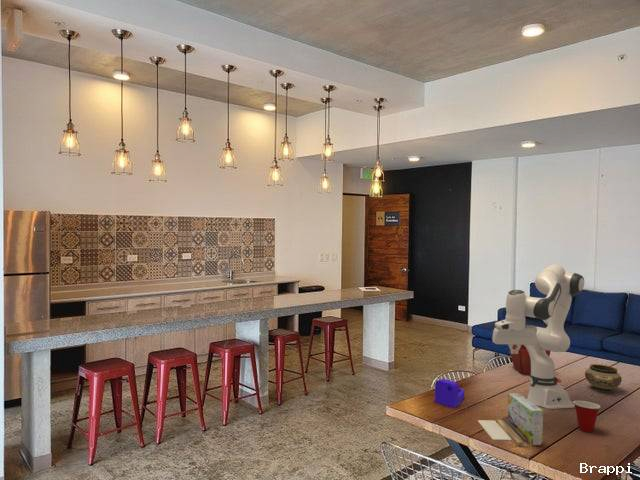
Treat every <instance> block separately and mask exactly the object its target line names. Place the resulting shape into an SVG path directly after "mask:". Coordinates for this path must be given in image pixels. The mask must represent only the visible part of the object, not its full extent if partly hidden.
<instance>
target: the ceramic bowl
mask: <svg viewBox="0 0 640 480" xmlns="http://www.w3.org/2000/svg"><path fill="white" fill-rule="evenodd" d="M584 376H585V377H584V378H585V379H586V381H587V382H588V383H589V384H590V385H591V386H592V389H594V390H595V391H598V392H601V393H611V392H613V389H616V388H617V387H619V386H620V385H621V383H622V381H623V380H622V376H621V373H619V372H618V369H617V368H616V367H614V366H610V365H606V364H605V365H604V364H599V363H591V364H590V365H589V368H587V369H586V370H585V372H584Z"/></svg>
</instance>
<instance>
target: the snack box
mask: <svg viewBox="0 0 640 480" xmlns="http://www.w3.org/2000/svg"><path fill="white" fill-rule="evenodd" d="M507 397H508V398H507V419H508V420H509V421H510V422H511V424H512V425H513V426H514V427H515V428H516V429H517V430H518V431H519V432H520V433H521V434H522V435H523V436H524V437H525V438H526V439H527V443H528V445H530V447H533V446H543V431H544V429H543V428H544V427H543V425H544V423H543V421H544V410H543V409H541V408H540V407H539V406H537V405H534V404H533V403H532V402H530V401H529V400H527V398H526V397H525V396H523V395H522V394H520V393H519V392H508V393H507Z"/></svg>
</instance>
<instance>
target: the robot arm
mask: <svg viewBox="0 0 640 480" xmlns="http://www.w3.org/2000/svg"><path fill="white" fill-rule="evenodd" d="M534 285H535V288H536V290H538V291H539V292H540V293H541V294H543V295H546V297H534V296H528V295H526V293H525V291H524V290H523V289H522V290H521V289H512V290H509V291H508V292H507V295H506V300H505V311H506V314H505V319H502V320H499V321H496V322H494V329H493V331H492V338H491V340H492V343H494V344H495V345H507V346H508V348H509V350H510V349H511V354H518V350H519V349H520V347H521V345H524V346H525V347H526V349H527V350H528V352H529V355H530V359H531V374H530V375H529V388H528V389H529V391H528V394H527V398H526V399H527V400H529V401H530V402H532V403H533V404H534V405H536V406H537V407H541V408H544V409H548V410H553V409H554V410H557V409H570V408H571V409H575V404H574V402H573V400H570V394H569V392H567V391H566V390H565V389H564V388H563V387H562V386H561V385H559V384H561V383H563V381H562V379H560V378H558V377H556V376H555V361H554V360H553V358H551V356H548V355H547V354H546V352H545V350H548V351H551V352H553V353H565V352H567V351H568V349H569V348H570V346H571V340H570V337H569V335H568V334H567V333H566V331H565V328H564V325H565V322H566V319H567V316H568V314H569V311H570V308H571V304H572V300H573V298H574V297H576V296H577V295H579V294H580V293H581V292H582V291H583V290H584V287H585V278H584V277H583V275H581V274H579V273H576V272H571V271H566V270H565V268H564V267H563V266H562V265H560V264H558V263H552V264H549V265H547V266H546V267H545V268H543V269H542V270H541V271H540V272H539V273H538V274H537V276H536V277H535V279H534ZM572 297H573V298H572ZM526 317H529V318H534V319H535V318H536V319H538V320H542V321H543V322H544V324H545V325H547V326H546V327H540V326H536V325H534V324H526ZM513 345H516V346H517V347H516V349H513V348H512V347H513ZM511 354H510V355H511Z"/></svg>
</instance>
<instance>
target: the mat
mask: <svg viewBox="0 0 640 480" xmlns="http://www.w3.org/2000/svg"><path fill="white" fill-rule="evenodd" d="M477 422H478V423H479V424H480V425H479V426H481V427H482V428H483V430H484V431H485V432H486V433H487V434H488V436H489V437H490V438H491V440H492V441H513V440H512V439H511V438H510V437H509V436H508V435H507V434H506V432H505V431H504V430H503V429H502V428H501V427H500V426H499V425H498V421H497V422H496V420H493V419H491V420H485V419H482V420H481V419H478V420H477Z"/></svg>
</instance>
